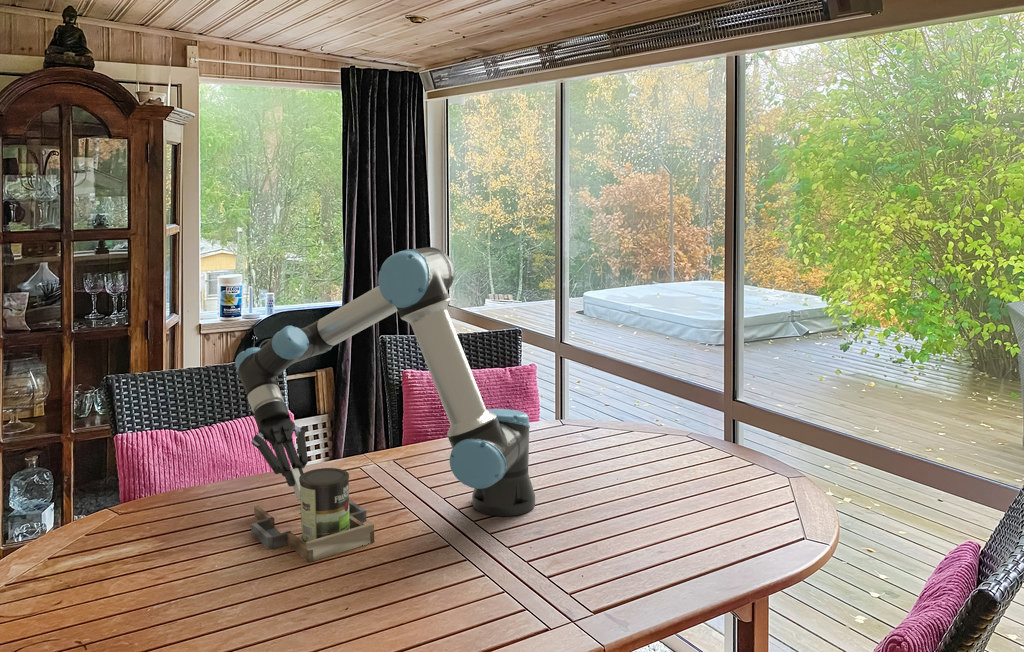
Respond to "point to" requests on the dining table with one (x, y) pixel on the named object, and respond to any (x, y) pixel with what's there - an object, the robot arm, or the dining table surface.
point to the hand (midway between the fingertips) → (302, 496)
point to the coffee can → (324, 502)
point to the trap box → (318, 547)
